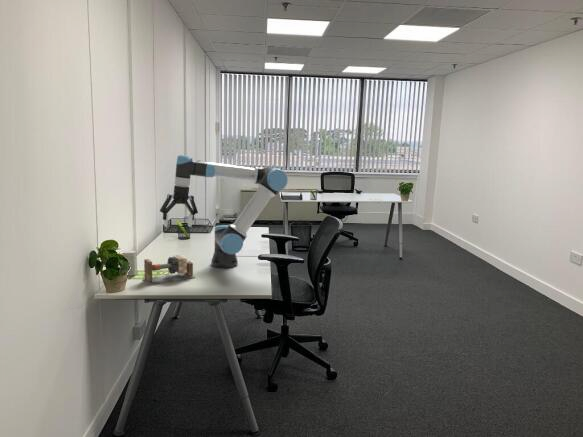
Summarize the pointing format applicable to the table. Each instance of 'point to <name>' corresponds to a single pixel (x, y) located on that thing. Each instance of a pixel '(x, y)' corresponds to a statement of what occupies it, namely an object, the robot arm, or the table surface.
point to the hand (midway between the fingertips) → (177, 226)
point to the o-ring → (174, 266)
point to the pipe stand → (168, 278)
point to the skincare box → (131, 261)
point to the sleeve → (181, 264)
